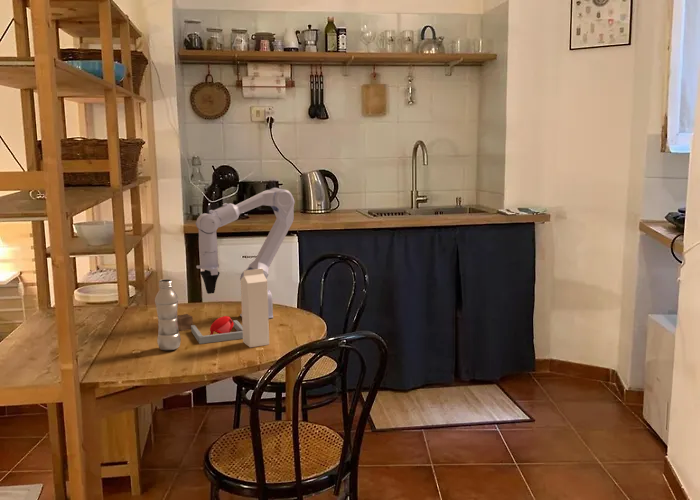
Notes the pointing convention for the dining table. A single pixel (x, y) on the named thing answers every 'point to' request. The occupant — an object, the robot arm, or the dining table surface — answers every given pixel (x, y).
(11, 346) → the dining table surface
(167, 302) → the plastic bottle
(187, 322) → the walnut block
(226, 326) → the cap
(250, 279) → the milk
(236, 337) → the tray frame
